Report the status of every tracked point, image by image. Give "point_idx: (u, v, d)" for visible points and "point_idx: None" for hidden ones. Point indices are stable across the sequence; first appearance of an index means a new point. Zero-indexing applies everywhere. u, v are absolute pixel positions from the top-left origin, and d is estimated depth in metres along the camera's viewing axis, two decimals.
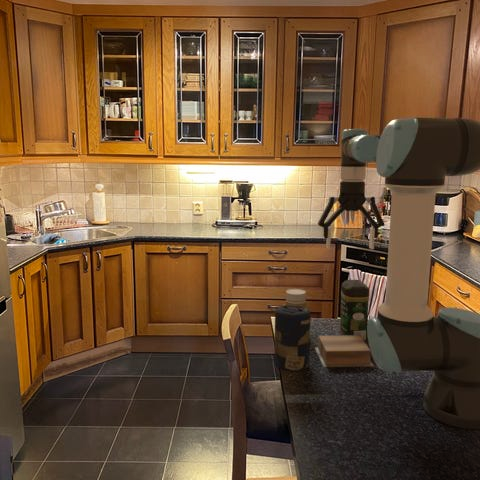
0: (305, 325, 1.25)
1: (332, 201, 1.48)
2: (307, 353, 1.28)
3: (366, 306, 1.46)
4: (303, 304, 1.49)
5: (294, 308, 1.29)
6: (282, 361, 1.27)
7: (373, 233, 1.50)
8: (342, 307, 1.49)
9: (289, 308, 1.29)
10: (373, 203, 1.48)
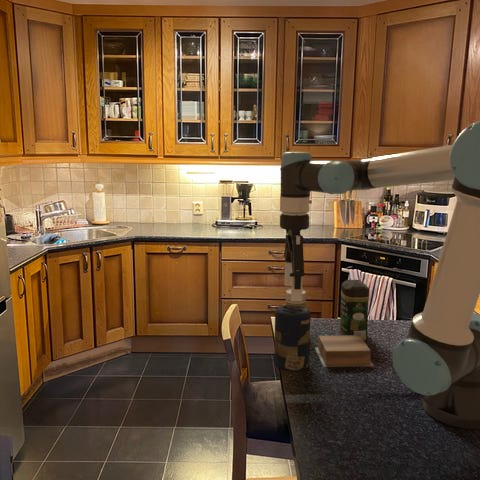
0: (305, 325, 1.25)
1: (286, 233, 1.31)
2: (307, 353, 1.28)
3: (366, 306, 1.46)
4: (303, 304, 1.49)
5: (294, 308, 1.29)
6: (282, 361, 1.27)
7: (291, 281, 1.20)
8: (342, 307, 1.49)
9: (289, 308, 1.29)
10: (292, 244, 1.19)
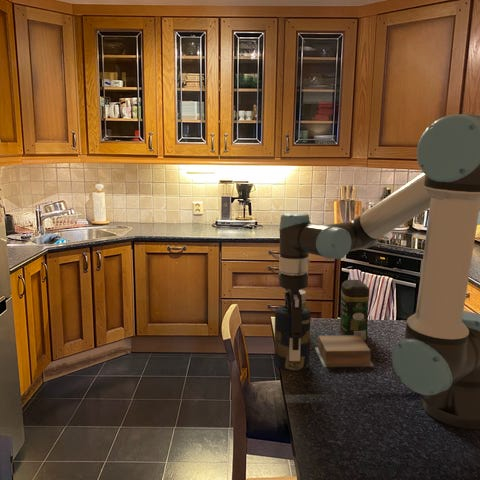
0: (305, 325, 1.25)
1: (285, 290, 1.34)
2: (307, 353, 1.28)
3: (366, 306, 1.46)
4: (303, 304, 1.49)
5: None
6: (282, 361, 1.27)
7: None
8: (342, 307, 1.49)
9: None
10: (291, 307, 1.22)
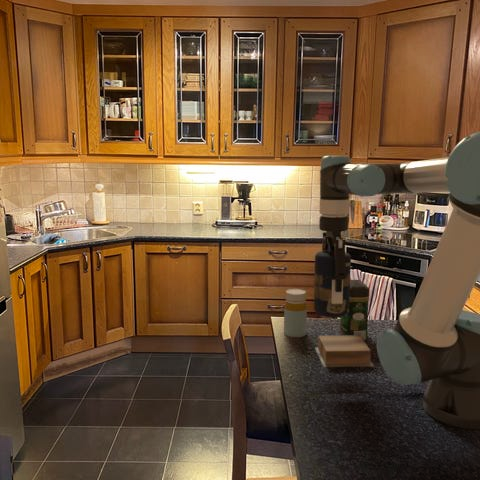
0: (346, 268, 1.25)
1: (323, 237, 1.34)
2: (348, 297, 1.28)
3: (366, 306, 1.46)
4: (303, 304, 1.49)
5: None
6: (323, 305, 1.27)
7: (332, 284, 1.25)
8: None
9: None
10: (335, 248, 1.22)
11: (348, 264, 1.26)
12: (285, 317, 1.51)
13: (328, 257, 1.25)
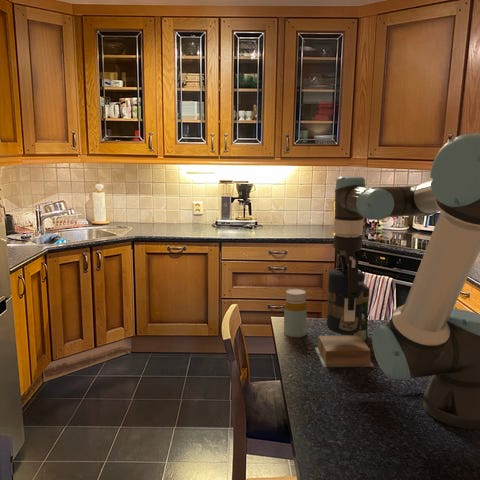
0: (359, 287, 1.28)
1: (337, 254, 1.36)
2: (360, 314, 1.31)
3: (366, 306, 1.46)
4: (303, 304, 1.49)
5: None
6: (336, 322, 1.30)
7: (345, 303, 1.27)
8: None
9: None
10: (348, 267, 1.24)
11: (361, 283, 1.28)
12: (285, 317, 1.51)
13: (341, 276, 1.27)
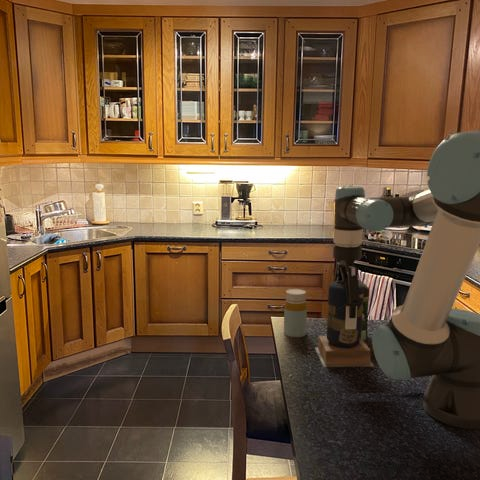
0: None
1: (337, 262, 1.37)
2: (360, 327, 1.31)
3: (366, 306, 1.46)
4: (303, 304, 1.49)
5: None
6: (335, 335, 1.31)
7: (346, 310, 1.26)
8: None
9: (342, 283, 1.32)
10: (348, 275, 1.25)
11: (361, 296, 1.29)
12: (285, 317, 1.51)
13: (341, 289, 1.28)
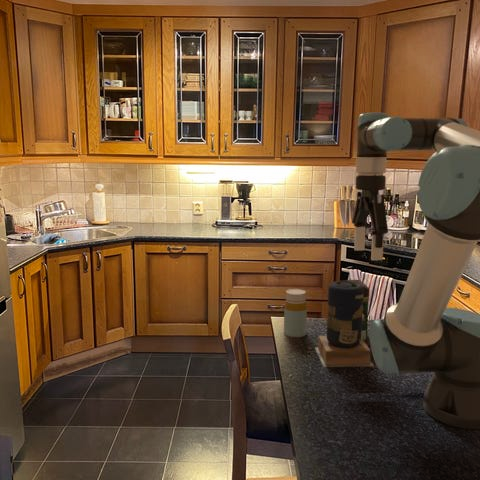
0: (359, 300, 1.29)
1: (357, 197, 1.32)
2: (360, 327, 1.31)
3: (366, 306, 1.46)
4: (303, 304, 1.49)
5: (347, 284, 1.32)
6: (335, 335, 1.31)
7: (372, 240, 1.21)
8: None
9: (342, 284, 1.32)
10: (374, 203, 1.20)
11: (361, 296, 1.29)
12: (285, 317, 1.51)
13: (341, 289, 1.28)
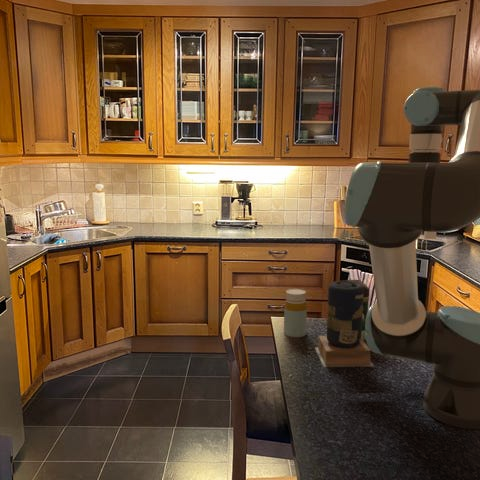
0: (359, 300, 1.29)
1: None
2: (360, 327, 1.31)
3: (366, 306, 1.46)
4: (303, 304, 1.49)
5: (347, 284, 1.32)
6: (335, 335, 1.31)
7: None
8: None
9: (342, 284, 1.32)
10: None
11: (361, 296, 1.29)
12: (285, 317, 1.51)
13: (341, 289, 1.28)
